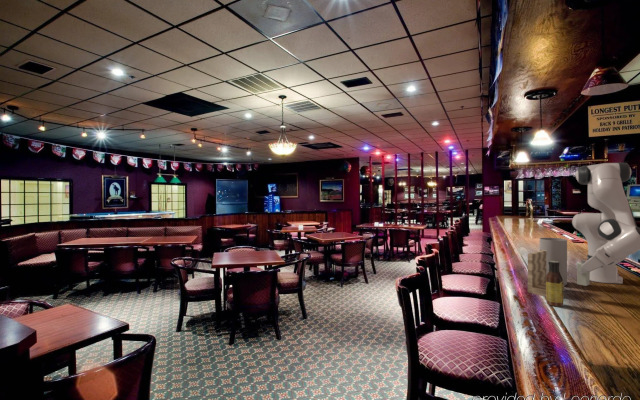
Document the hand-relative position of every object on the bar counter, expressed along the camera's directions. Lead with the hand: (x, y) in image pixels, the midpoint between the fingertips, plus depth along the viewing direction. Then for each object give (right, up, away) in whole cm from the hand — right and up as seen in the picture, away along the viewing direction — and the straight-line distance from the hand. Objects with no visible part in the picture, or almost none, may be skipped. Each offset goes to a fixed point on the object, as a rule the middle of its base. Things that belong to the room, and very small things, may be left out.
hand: (581, 272), depth 151 cm
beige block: (0, -6, 0) cm, 6 cm away
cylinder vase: (+6, -12, +27) cm, 30 cm away
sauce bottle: (-19, -13, -8) cm, 24 cm away
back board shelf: (-9, -13, +11) cm, 19 cm away
